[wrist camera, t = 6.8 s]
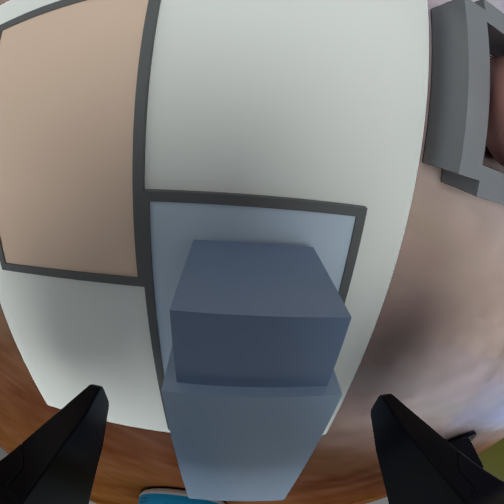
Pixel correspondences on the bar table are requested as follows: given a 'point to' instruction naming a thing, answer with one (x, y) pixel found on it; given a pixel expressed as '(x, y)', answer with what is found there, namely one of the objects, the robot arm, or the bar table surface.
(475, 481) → the robot arm
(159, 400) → the white sorting board
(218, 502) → the beverage bottle
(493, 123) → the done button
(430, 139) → the button housing
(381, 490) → the bar table surface
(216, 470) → the blue paint stick
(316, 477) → the bar table surface
